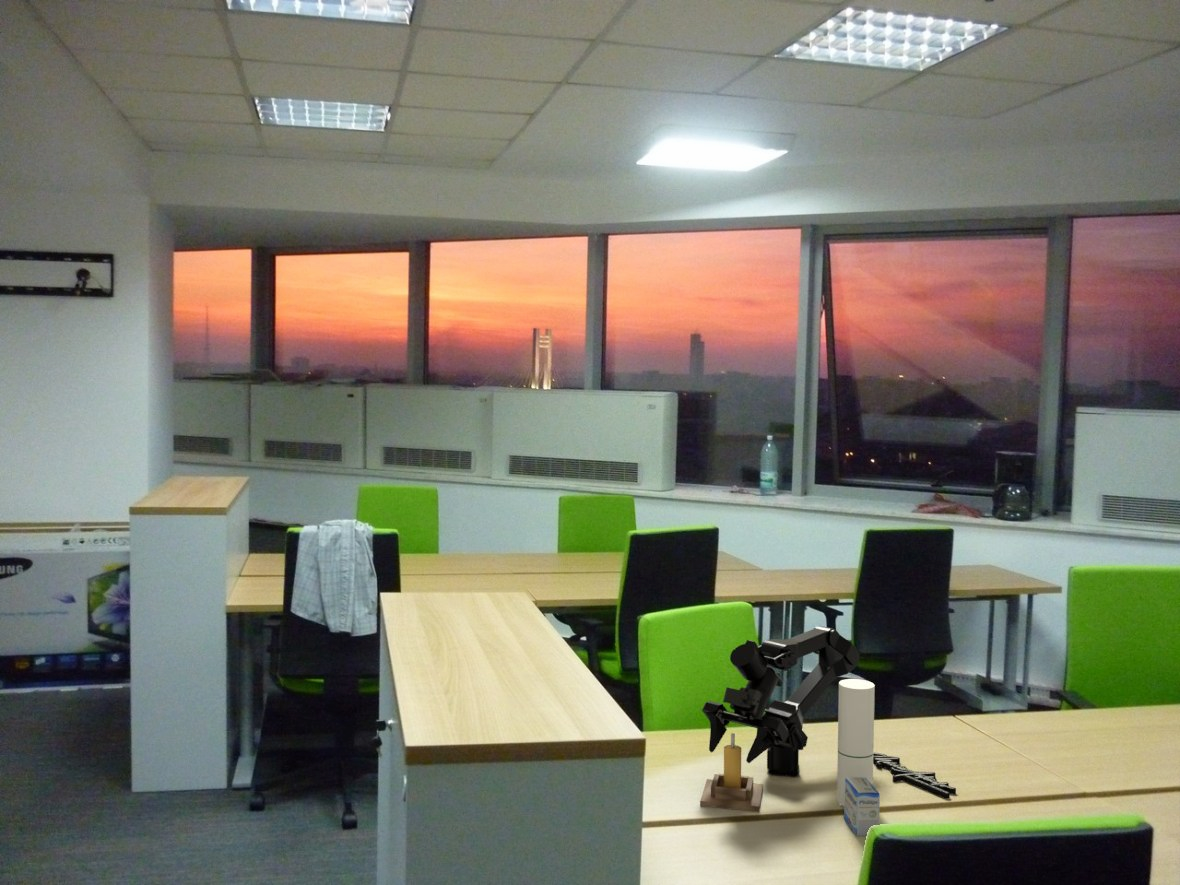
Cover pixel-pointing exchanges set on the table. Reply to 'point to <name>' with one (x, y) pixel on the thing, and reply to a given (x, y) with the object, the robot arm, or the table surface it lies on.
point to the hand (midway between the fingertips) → (728, 756)
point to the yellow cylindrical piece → (732, 765)
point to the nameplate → (913, 776)
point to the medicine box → (861, 805)
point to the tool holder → (732, 794)
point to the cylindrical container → (855, 732)
